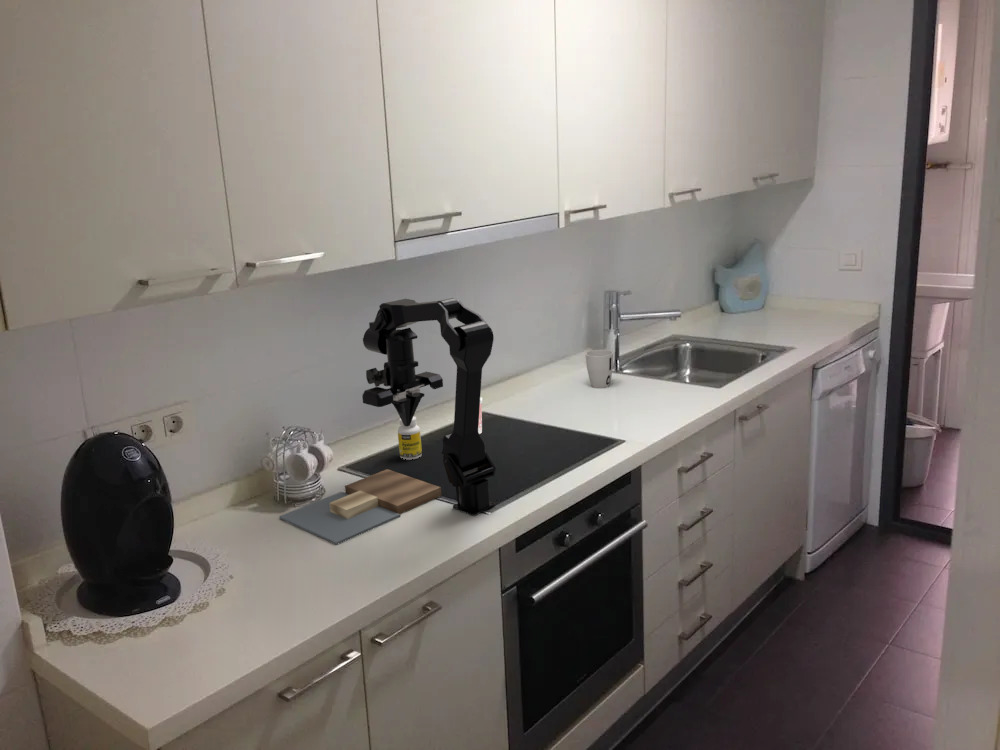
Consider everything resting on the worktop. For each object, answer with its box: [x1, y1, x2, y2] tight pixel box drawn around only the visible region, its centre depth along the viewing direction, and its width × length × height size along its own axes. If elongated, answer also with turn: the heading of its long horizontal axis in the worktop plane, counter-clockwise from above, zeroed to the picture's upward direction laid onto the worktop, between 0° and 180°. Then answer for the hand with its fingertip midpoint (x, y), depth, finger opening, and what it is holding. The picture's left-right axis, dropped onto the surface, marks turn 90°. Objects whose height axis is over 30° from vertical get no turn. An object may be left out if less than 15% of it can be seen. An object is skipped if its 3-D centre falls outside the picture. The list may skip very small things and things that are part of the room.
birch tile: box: [329, 491, 379, 519], centre depth 187 cm, size 6×8×2 cm
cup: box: [585, 349, 614, 389], centre depth 264 cm, size 8×8×10 cm
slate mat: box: [278, 491, 401, 546], centre depth 185 cm, size 20×16×1 cm
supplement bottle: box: [397, 415, 423, 461], centre depth 216 cm, size 5×5×10 cm
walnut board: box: [344, 468, 442, 515], centre depth 195 cm, size 18×12×2 cm, turn 46°
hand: (406, 425), depth 199 cm, fingers closed
